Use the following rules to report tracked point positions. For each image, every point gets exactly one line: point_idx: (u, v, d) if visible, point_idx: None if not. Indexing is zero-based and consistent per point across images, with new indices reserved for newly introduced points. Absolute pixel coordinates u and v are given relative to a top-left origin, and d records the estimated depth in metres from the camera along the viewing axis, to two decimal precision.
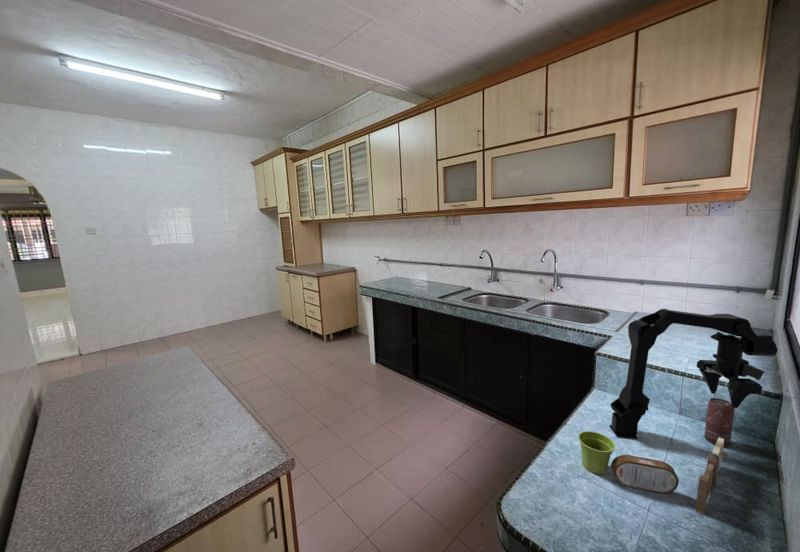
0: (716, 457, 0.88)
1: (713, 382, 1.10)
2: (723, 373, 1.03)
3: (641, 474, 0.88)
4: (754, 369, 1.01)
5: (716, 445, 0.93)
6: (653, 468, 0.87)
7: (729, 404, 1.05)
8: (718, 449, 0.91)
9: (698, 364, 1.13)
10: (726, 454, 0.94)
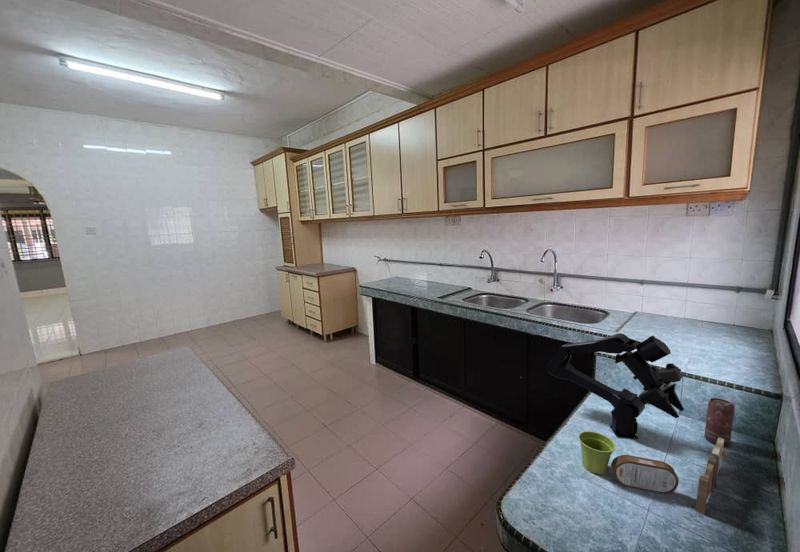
0: (716, 457, 0.88)
1: (672, 399, 1.04)
2: (644, 389, 1.05)
3: (641, 474, 0.88)
4: (663, 373, 1.01)
5: (716, 445, 0.93)
6: (653, 468, 0.87)
7: (729, 404, 1.05)
8: (718, 449, 0.91)
9: None
10: (726, 454, 0.94)
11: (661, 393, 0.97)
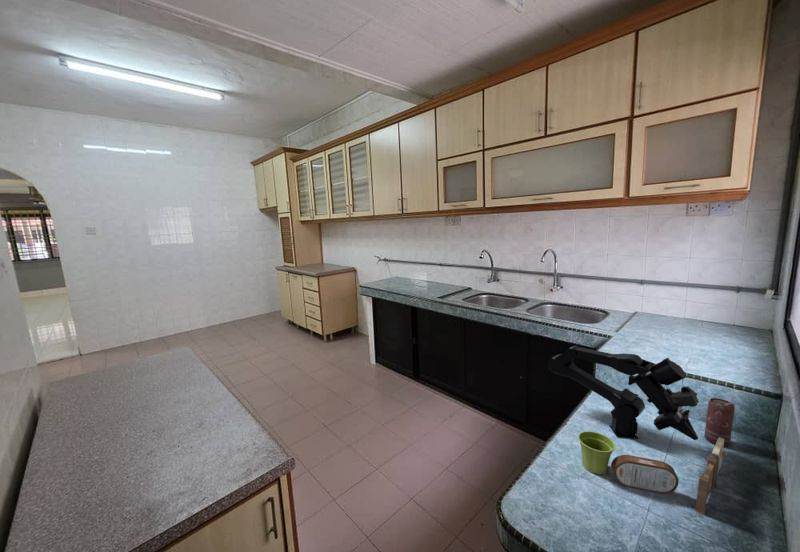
0: (716, 457, 0.88)
1: None
2: (659, 413, 1.03)
3: (641, 474, 0.88)
4: (678, 397, 0.98)
5: (716, 445, 0.93)
6: (653, 468, 0.87)
7: (729, 404, 1.05)
8: (718, 449, 0.91)
9: None
10: (726, 454, 0.94)
11: (677, 419, 0.95)
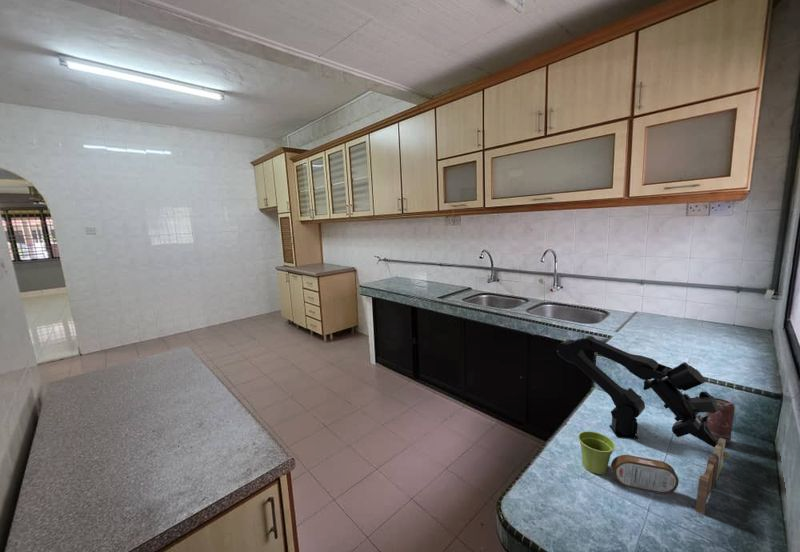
0: (716, 457, 0.88)
1: None
2: (676, 419, 0.99)
3: (641, 474, 0.88)
4: (697, 403, 0.95)
5: (717, 445, 0.92)
6: (653, 468, 0.87)
7: (729, 404, 1.05)
8: (719, 449, 0.91)
9: None
10: (727, 454, 0.94)
11: (697, 425, 0.92)
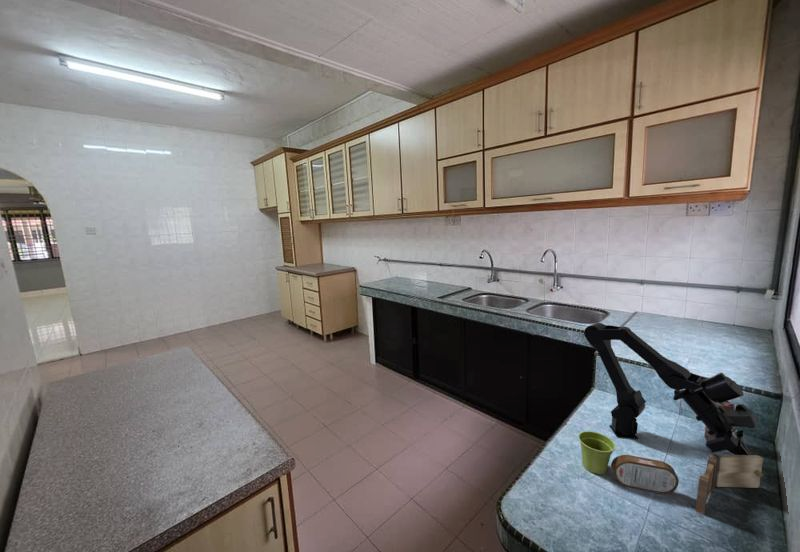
0: (714, 457, 0.88)
1: None
2: (709, 432, 0.94)
3: (641, 474, 0.88)
4: (734, 417, 0.89)
5: (737, 455, 0.88)
6: (653, 468, 0.87)
7: (729, 404, 1.05)
8: (732, 457, 0.88)
9: None
10: (758, 473, 0.87)
11: (734, 441, 0.86)
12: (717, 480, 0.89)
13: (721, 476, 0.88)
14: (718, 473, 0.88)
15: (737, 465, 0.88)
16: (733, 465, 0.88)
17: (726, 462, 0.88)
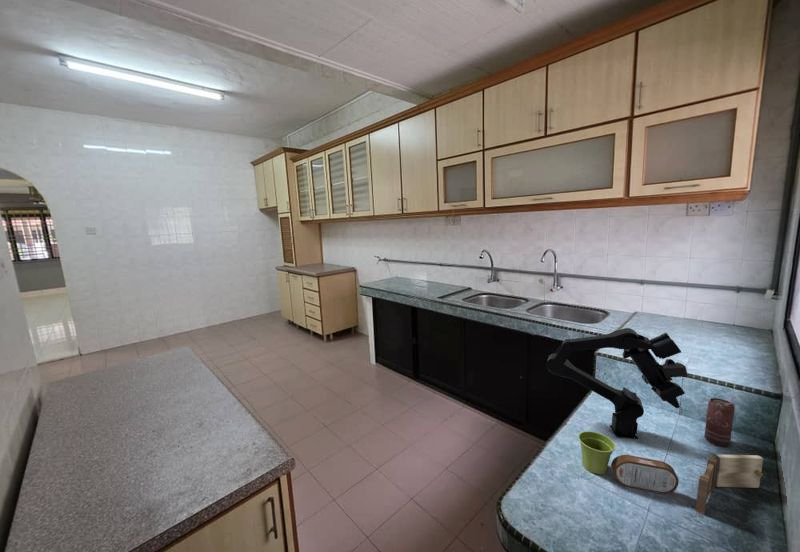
0: (714, 457, 0.88)
1: None
2: (652, 385, 1.05)
3: (641, 474, 0.88)
4: (674, 369, 1.03)
5: (737, 455, 0.88)
6: (653, 468, 0.87)
7: (729, 404, 1.05)
8: (732, 457, 0.88)
9: None
10: (758, 473, 0.87)
11: (681, 389, 0.98)
12: (717, 480, 0.89)
13: (721, 476, 0.88)
14: (718, 473, 0.88)
15: (737, 465, 0.88)
16: (733, 465, 0.88)
17: (726, 462, 0.88)
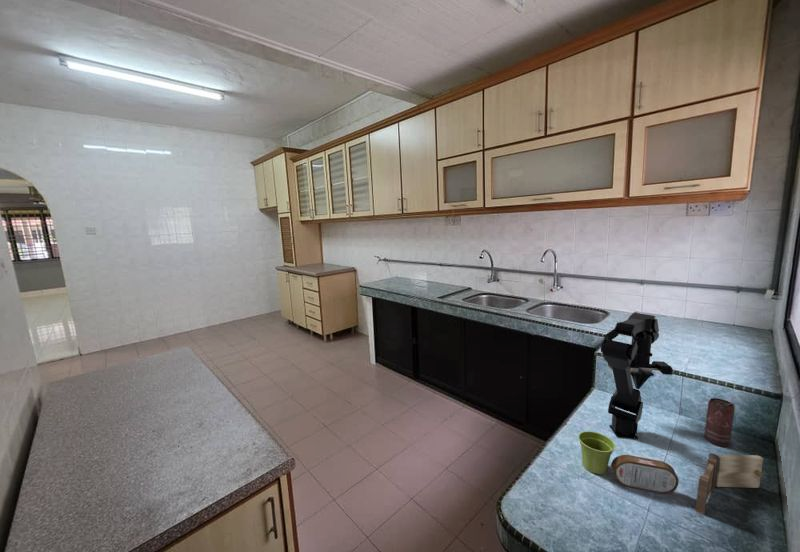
0: (714, 457, 0.88)
1: None
2: None
3: (641, 474, 0.88)
4: None
5: (737, 455, 0.88)
6: (653, 468, 0.87)
7: (729, 404, 1.05)
8: (732, 457, 0.88)
9: None
10: (758, 473, 0.87)
11: None
12: (717, 480, 0.89)
13: (721, 476, 0.88)
14: (718, 473, 0.88)
15: (737, 465, 0.88)
16: (733, 465, 0.88)
17: (726, 462, 0.88)
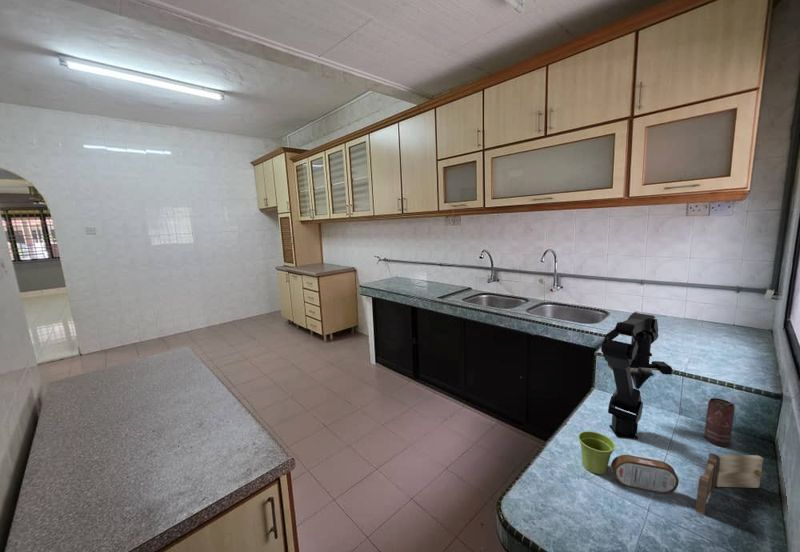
0: (714, 457, 0.88)
1: None
2: None
3: (641, 474, 0.88)
4: None
5: (737, 455, 0.88)
6: (653, 468, 0.87)
7: (729, 404, 1.05)
8: (732, 457, 0.88)
9: None
10: (758, 473, 0.87)
11: None
12: (717, 480, 0.89)
13: (721, 476, 0.88)
14: (718, 473, 0.88)
15: (737, 465, 0.88)
16: (733, 465, 0.88)
17: (726, 462, 0.88)
